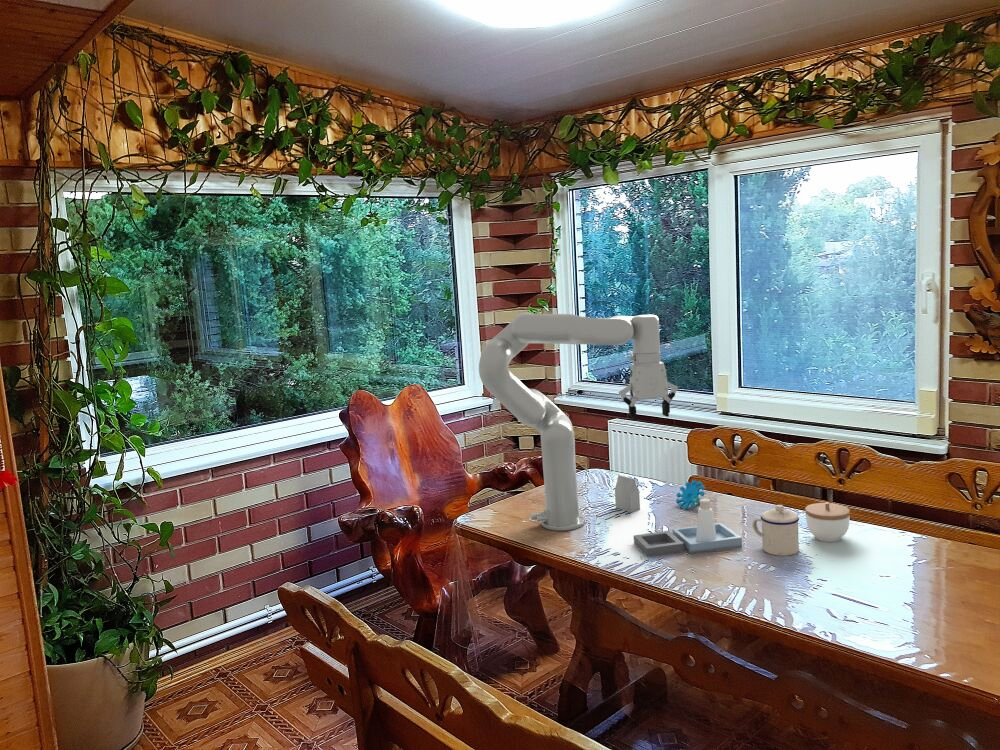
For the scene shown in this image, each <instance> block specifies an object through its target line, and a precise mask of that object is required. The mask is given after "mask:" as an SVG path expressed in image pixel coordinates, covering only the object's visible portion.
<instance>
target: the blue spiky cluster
mask: <svg viewBox="0 0 1000 750" xmlns="http://www.w3.org/2000/svg"><path fill="white" fill-rule="evenodd" d="M705 489H706V486H705V485H704V484H703V483H702V482H701V481H700V480H698V481H696V480H695V479H692V480H691V483H690V482H689V481H686V482H685V487H684V486H681V487H680V488H679V491H681V492H682V494H681V493H680V492H677V493H676V495H675V496H676V497H677V498H676V499H675V503H676V504H678V507H679V508H681V509H683V508H684V509H685V510H689V508H690V507H691V508H695V507H696V504H697V505H699V506H700V500H701V499H703V498H700V497H699V495H700V496H701V497H704V496H705V495H706V493H705V492H704V491H705ZM701 490H702V491H701ZM679 498H680V499H679Z"/></svg>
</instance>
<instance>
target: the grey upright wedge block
mask: <svg viewBox="0 0 1000 750" xmlns="http://www.w3.org/2000/svg"><path fill="white" fill-rule="evenodd" d="M636 482H637V481H636V479H635V478H632V477H629V476H625V475H620V474H618V476H617V480H616V484H615V487H614V499H615V508H616V509H619V510H623V511H625V512H629V513H635V512H636V511H640V510H641V500H640V490H639V487H638V485H637V483H636Z"/></svg>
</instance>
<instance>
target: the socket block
mask: <svg viewBox="0 0 1000 750" xmlns="http://www.w3.org/2000/svg"><path fill="white" fill-rule="evenodd" d="M663 542H666V543H663ZM656 543H660V544H656ZM661 543H662V544H661ZM633 544H634V545H635V546H636V547H637V548H638V549H639V550H640V551H641V553H643V554H644V555H645V556H646V557H648V556H649V557H655V556H662V555H668V554H677V553H682V552H683V553H684V552H685V548H684V543H683V542H682V541H680V540H679V539H678V538H677V537H676V536H675V535H673V533H672V532H671V531H670V530H665V531H664V530H663V531H657V532H649V533H642V534H635V535H633ZM650 544H653V545H650Z"/></svg>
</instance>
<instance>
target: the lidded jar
mask: <svg viewBox="0 0 1000 750" xmlns="http://www.w3.org/2000/svg"><path fill="white" fill-rule="evenodd" d="M804 512H805V521H806V525H807V529H808V530H809V532H810V533H811V534H812V535H813V536H814V537H815V539H816V540H818V541H820V542H825V543H826V542H827V543H835V542H839V541H841V538H844V536H845V535H846V534H847V532H848V531H849V526H850V521H851V520H850V518H851V517H850V516H851V510H850V509H849V507H847V506H845V505H842V504H838V503H833V502H832V503H831V502H818V503H817V502H816V503H811V504H808V505H806V506H805V509H804Z"/></svg>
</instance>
